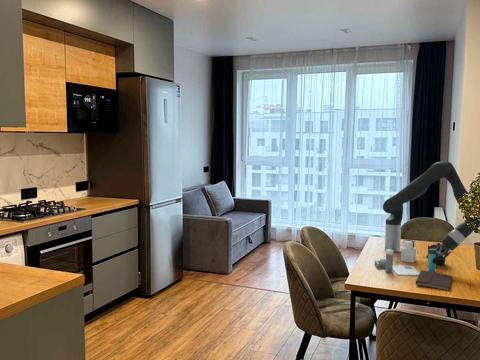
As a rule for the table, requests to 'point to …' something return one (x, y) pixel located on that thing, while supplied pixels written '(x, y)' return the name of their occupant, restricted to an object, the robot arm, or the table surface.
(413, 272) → the sheet
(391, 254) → the grey marker
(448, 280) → the notebook
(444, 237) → the robot arm
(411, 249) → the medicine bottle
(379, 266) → the button housing
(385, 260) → the button
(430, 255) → the marker
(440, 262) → the pen holder
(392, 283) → the table surface
